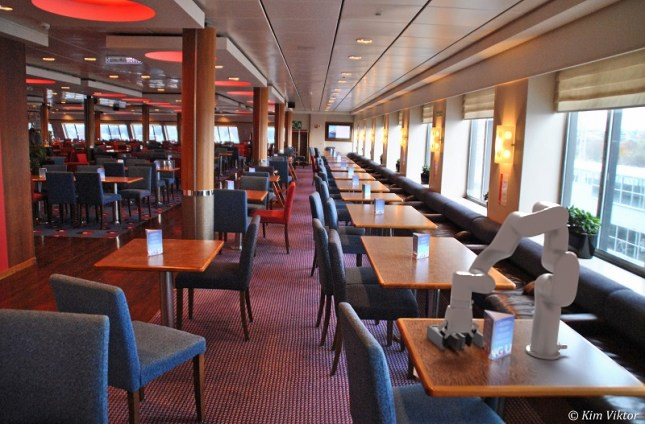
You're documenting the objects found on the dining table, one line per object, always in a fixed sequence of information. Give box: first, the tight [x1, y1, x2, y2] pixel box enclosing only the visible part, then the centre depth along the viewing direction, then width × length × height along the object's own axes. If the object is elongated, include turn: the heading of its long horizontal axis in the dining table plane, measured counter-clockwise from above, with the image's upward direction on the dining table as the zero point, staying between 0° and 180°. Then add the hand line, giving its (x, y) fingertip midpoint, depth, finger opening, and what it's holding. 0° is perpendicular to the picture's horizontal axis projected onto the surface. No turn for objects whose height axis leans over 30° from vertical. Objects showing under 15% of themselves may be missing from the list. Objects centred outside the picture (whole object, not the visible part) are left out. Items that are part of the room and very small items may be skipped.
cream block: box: [433, 327, 461, 352], centre depth 210 cm, size 6×16×6 cm, turn 14°
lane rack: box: [426, 324, 485, 351], centre depth 214 cm, size 18×14×5 cm
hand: (456, 346), depth 204 cm, fingers open, 9 cm apart
